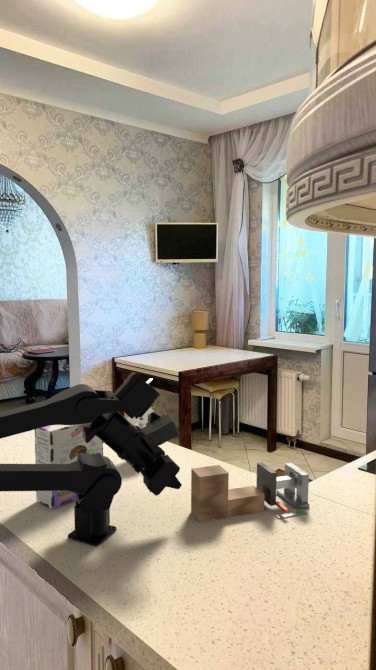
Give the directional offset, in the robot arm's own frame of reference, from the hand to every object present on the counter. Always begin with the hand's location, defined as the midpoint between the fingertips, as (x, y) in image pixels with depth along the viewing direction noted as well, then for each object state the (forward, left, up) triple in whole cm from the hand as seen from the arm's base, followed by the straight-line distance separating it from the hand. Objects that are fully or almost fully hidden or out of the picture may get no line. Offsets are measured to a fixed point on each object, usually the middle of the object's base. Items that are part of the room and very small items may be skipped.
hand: (179, 486), depth 96 cm
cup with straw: (+26, +23, -7) cm, 35 cm away
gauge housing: (+15, -17, -7) cm, 24 cm away
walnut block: (+7, -7, -7) cm, 12 cm away
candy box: (0, +26, -7) cm, 27 cm away
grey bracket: (+15, -17, -5) cm, 23 cm away
